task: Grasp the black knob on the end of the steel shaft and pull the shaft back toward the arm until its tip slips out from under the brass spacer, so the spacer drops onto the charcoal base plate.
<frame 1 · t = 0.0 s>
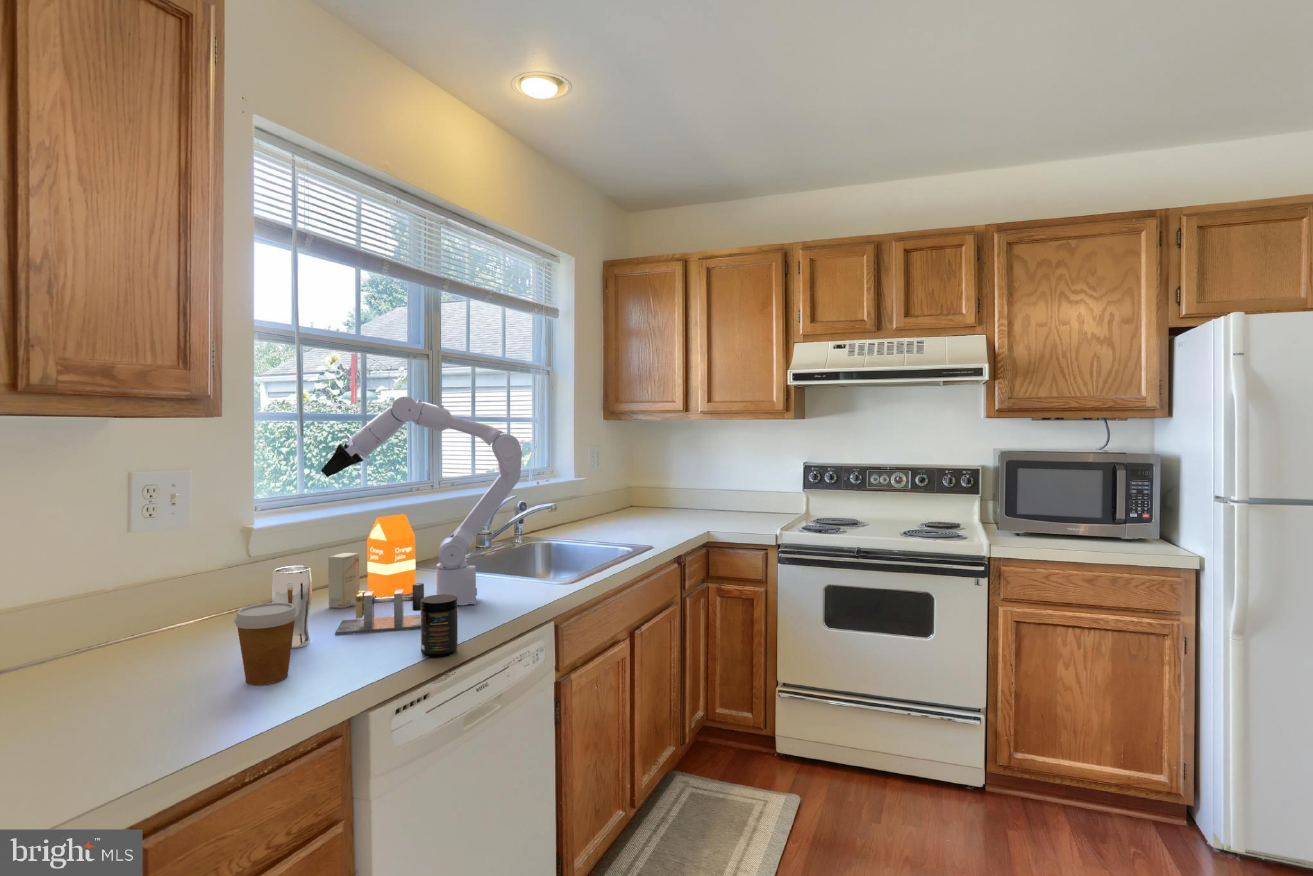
hand: (327, 472, 161), 32 cm above the worktop, tool tilted 50°, fingers open, 7 cm apart
orange juice: (392, 594, 179), on the worktop
beer glass: (292, 645, 137), on the worktop
disposable coffee cup: (267, 679, 119), on the worktop
supplement container: (439, 654, 132), on the worktop
bracket: (374, 626, 149), on the worktop
skincare box: (344, 605, 167), on the worktop
shaft: (388, 598, 150), point 6 cm above the worktop, slide at 0.0 cm, touching spacer
spacer: (360, 603, 149), point 5 cm above the worktop, touching shaft
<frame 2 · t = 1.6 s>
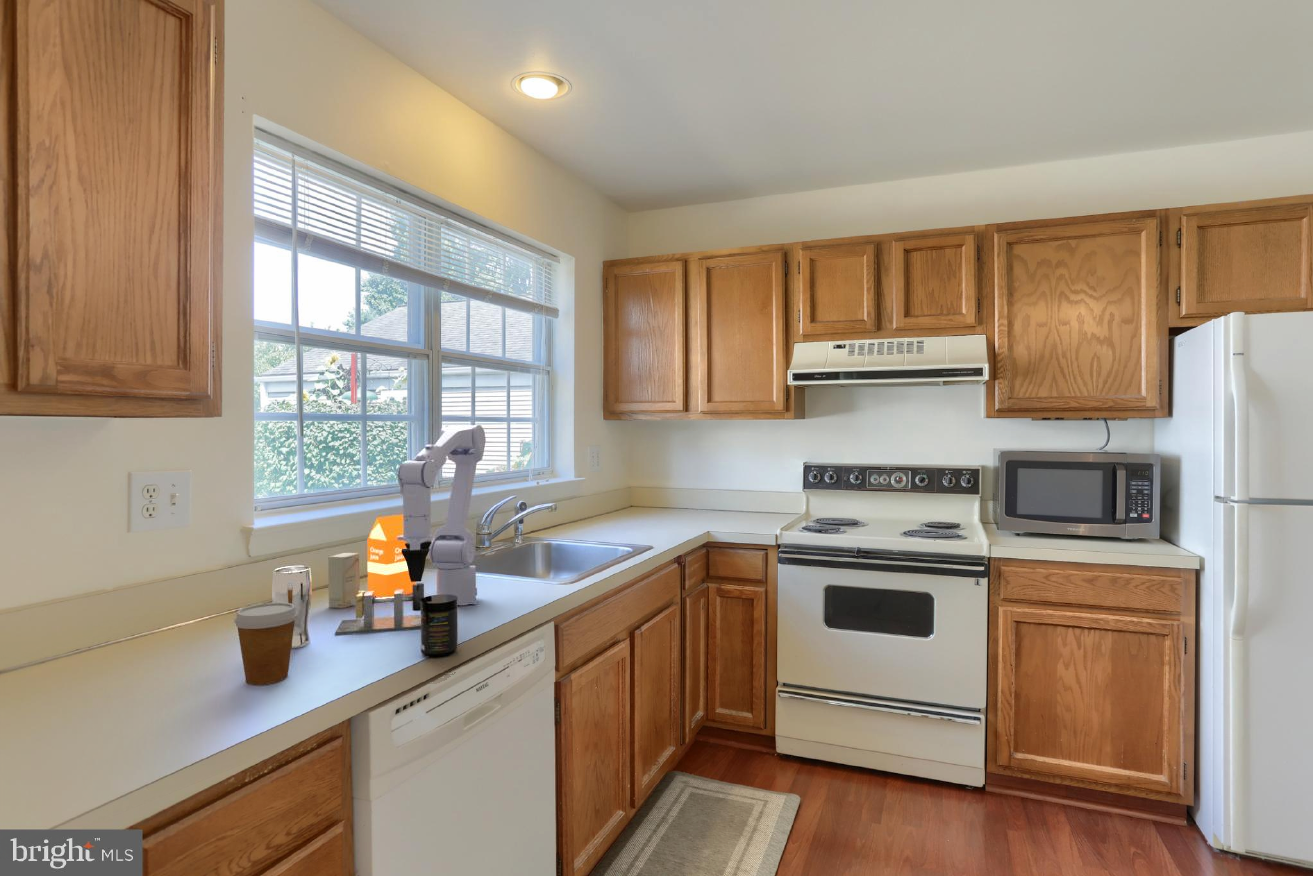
hand: (417, 577, 152), 10 cm above the worktop, tool pointing down, fingers open, 7 cm apart
nothing on the worktop moved.
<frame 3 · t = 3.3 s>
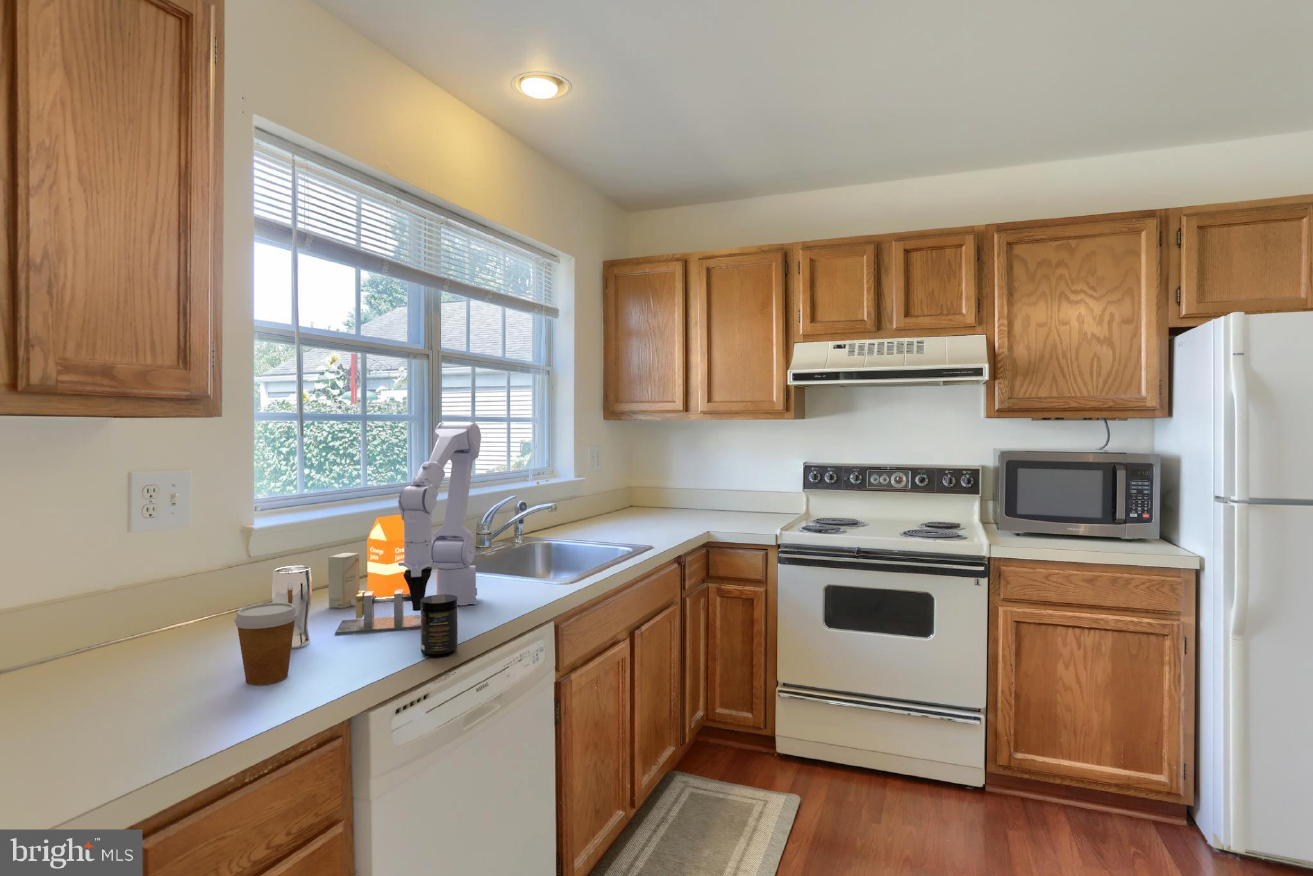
hand: (418, 603, 152), 4 cm above the worktop, tool pointing down, fingers closed on shaft, 2 cm apart
shaft: (388, 598, 150), point 6 cm above the worktop, slide at 0.0 cm, touching gripper, spacer
everything else where it was.
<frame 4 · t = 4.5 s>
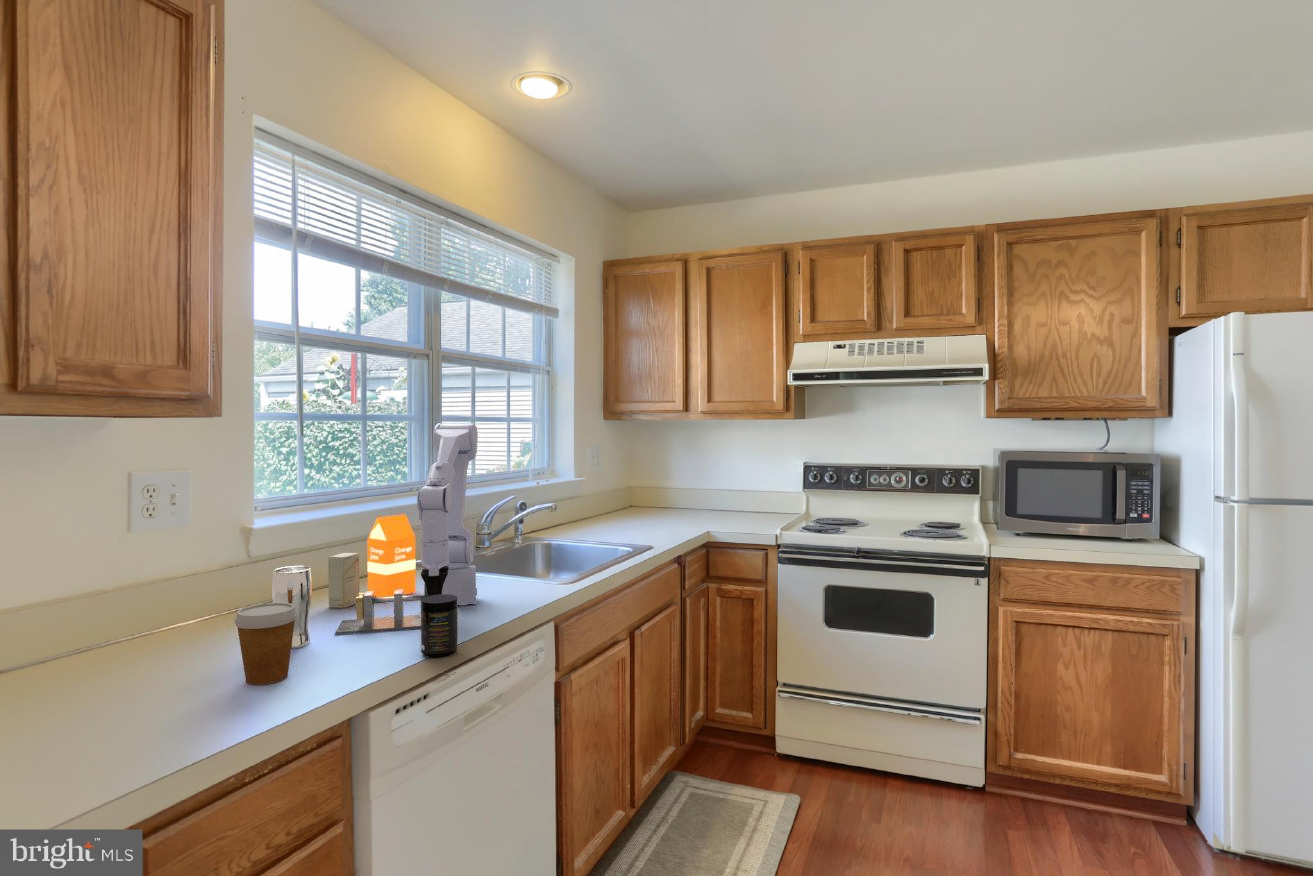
hand: (435, 601, 153), 4 cm above the worktop, tool pointing down, fingers closed on shaft, 2 cm apart
shaft: (400, 598, 151), point 6 cm above the worktop, slide at 2.5 cm, touching gripper
spacer: (360, 605, 149), point 5 cm above the worktop
everything else where it was.
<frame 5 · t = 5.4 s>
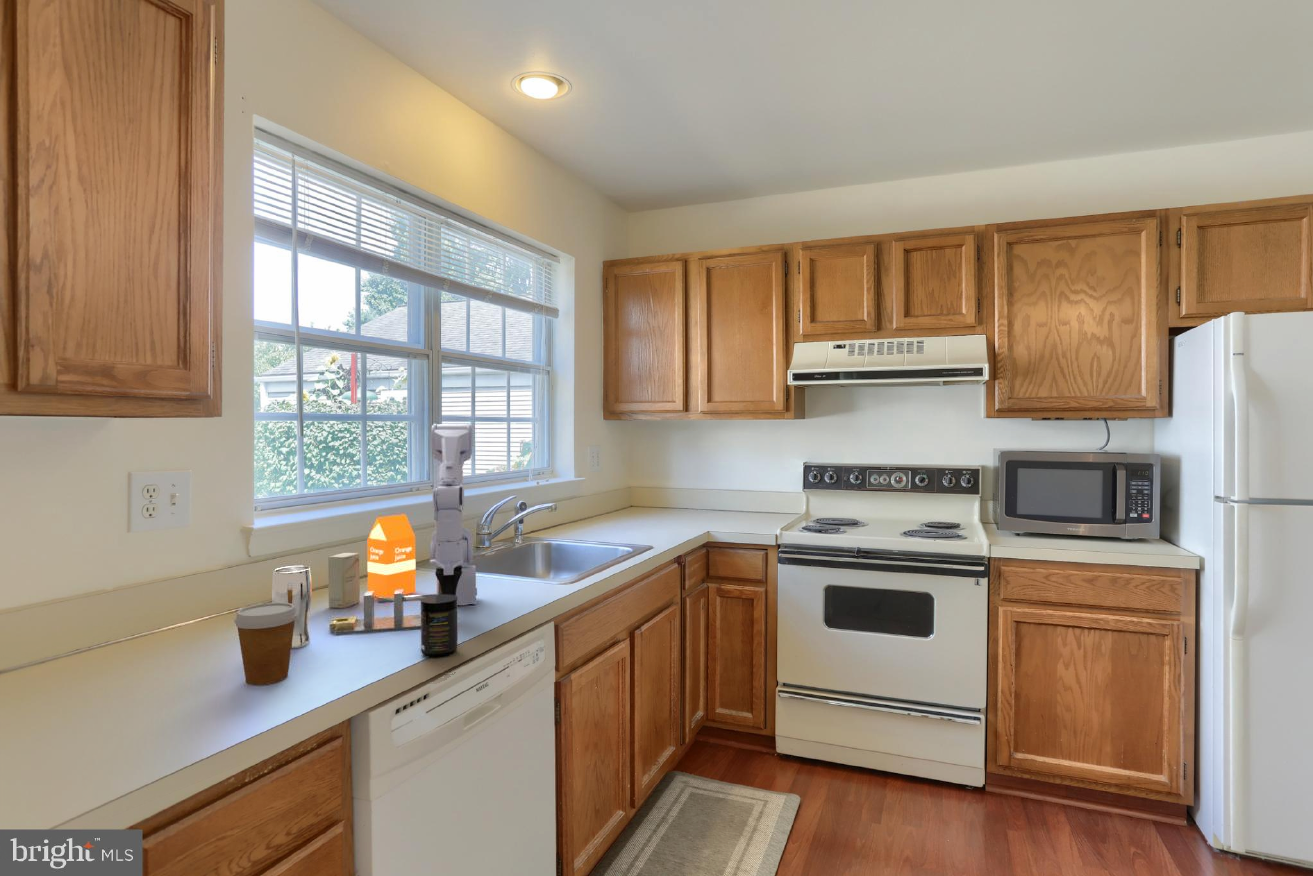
hand: (449, 601, 154), 4 cm above the worktop, tool pointing down, fingers closed on shaft, 2 cm apart
shaft: (414, 597, 152), point 6 cm above the worktop, slide at 5.4 cm, touching gripper
spacer: (342, 623, 148), point 1 cm above the worktop, tilted 90°, touching bracket
everything else where it was.
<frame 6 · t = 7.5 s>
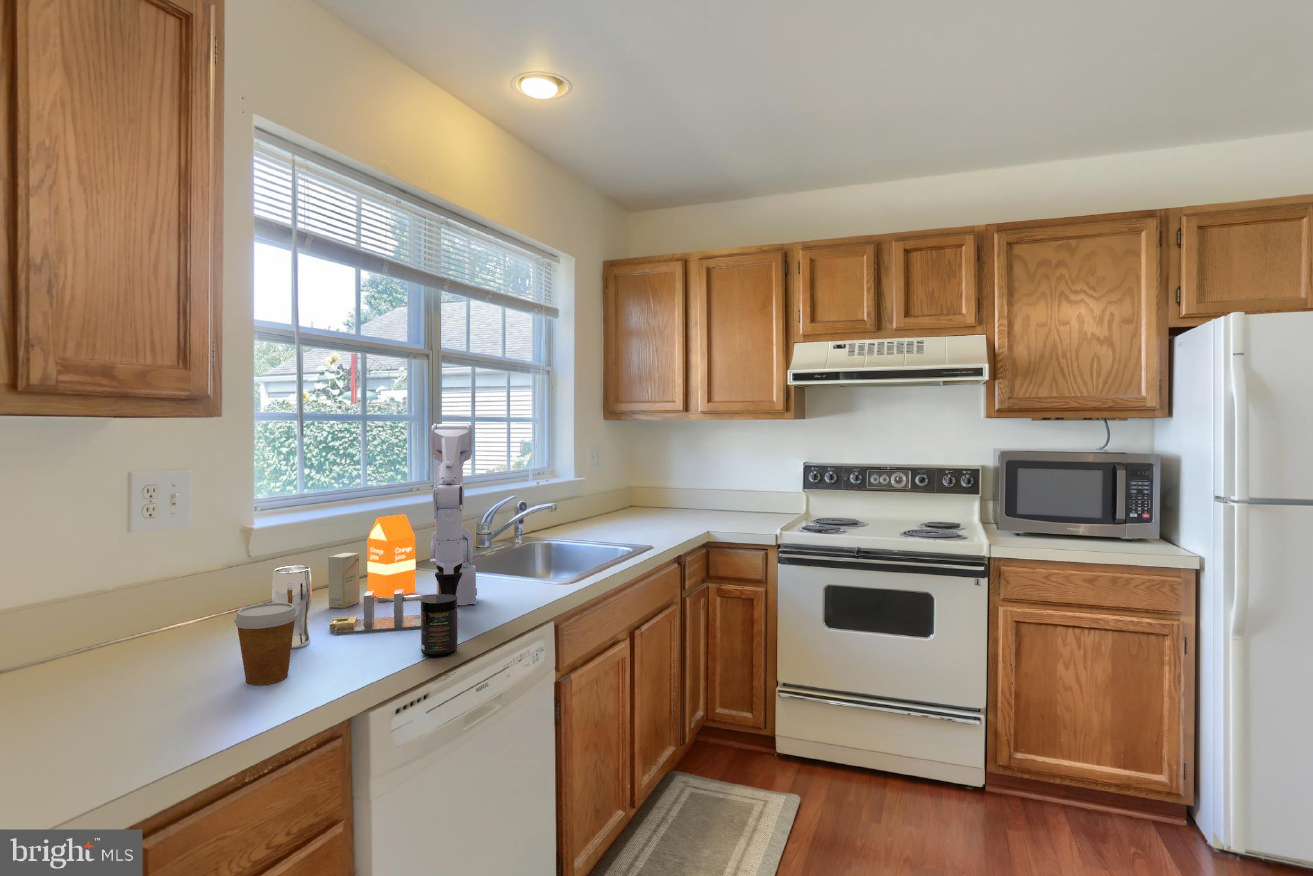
hand: (449, 600, 154), 5 cm above the worktop, tool pointing down, fingers open, 7 cm apart
shaft: (414, 597, 152), point 6 cm above the worktop, slide at 5.4 cm
everything else where it was.
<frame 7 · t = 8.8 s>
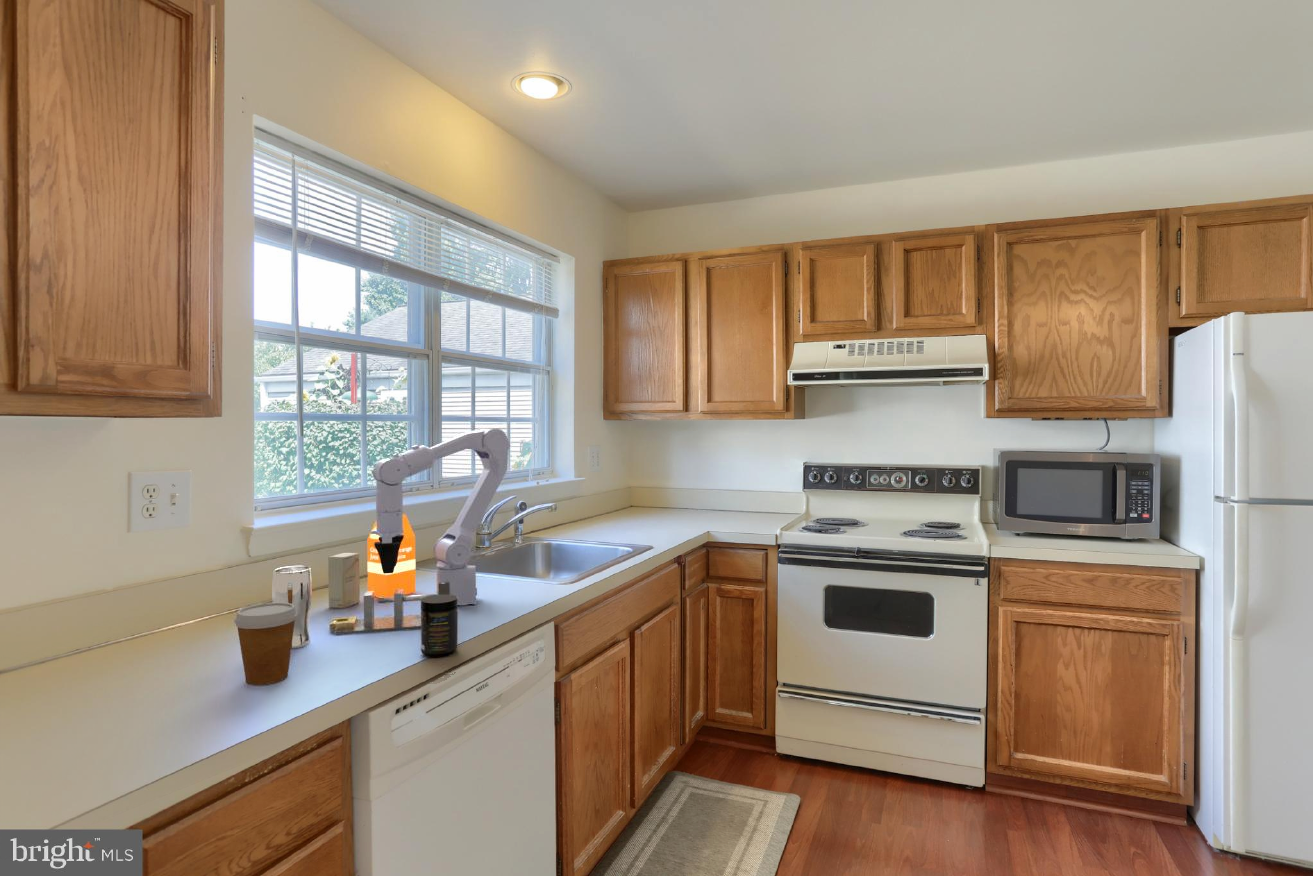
hand: (389, 569, 160), 10 cm above the worktop, tool pointing down, fingers open, 7 cm apart
nothing on the worktop moved.
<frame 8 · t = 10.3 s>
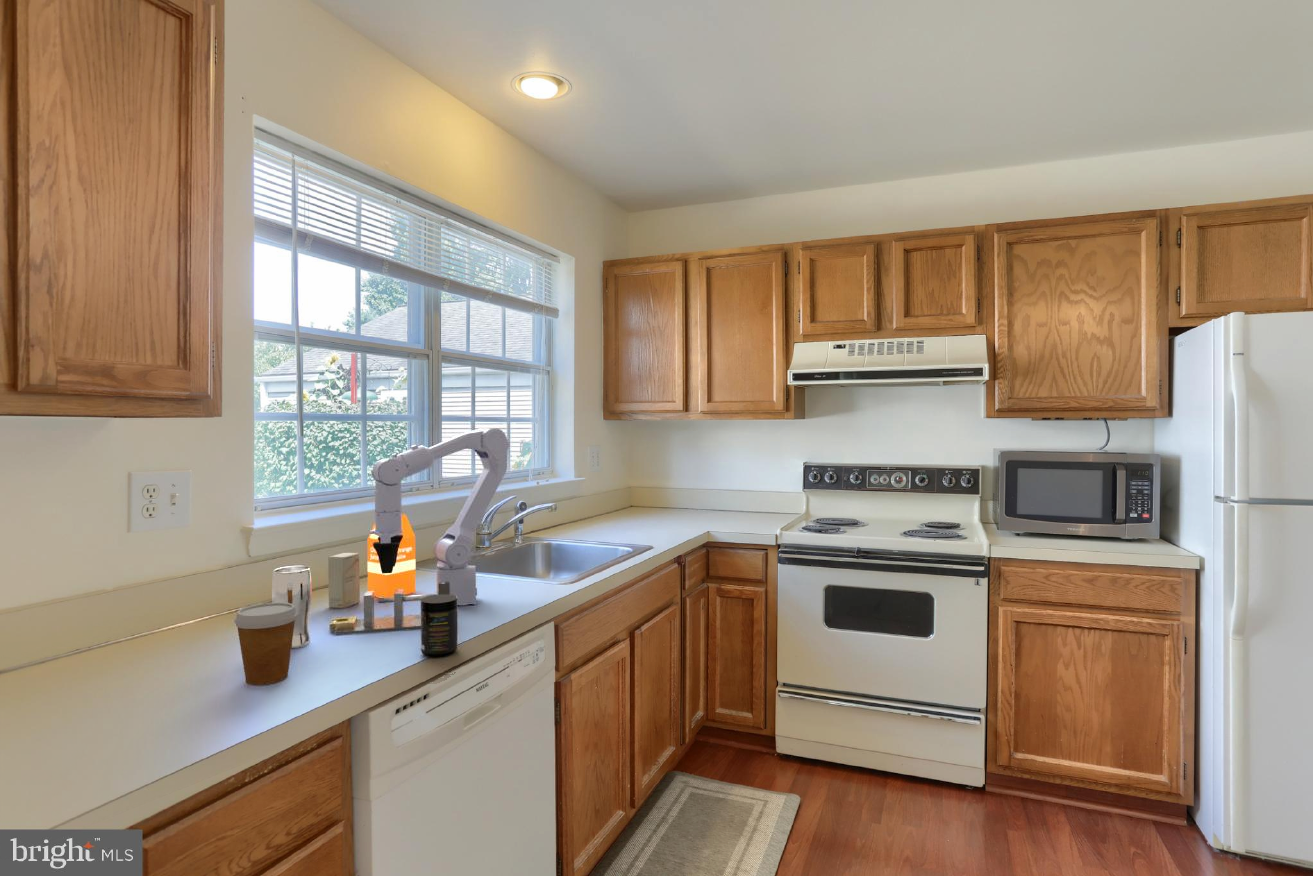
hand: (388, 569, 160), 10 cm above the worktop, tool pointing down, fingers open, 7 cm apart
nothing on the worktop moved.
at the end: shaft slide at 5.4 cm; spacer point 1.2 cm above the worktop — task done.
